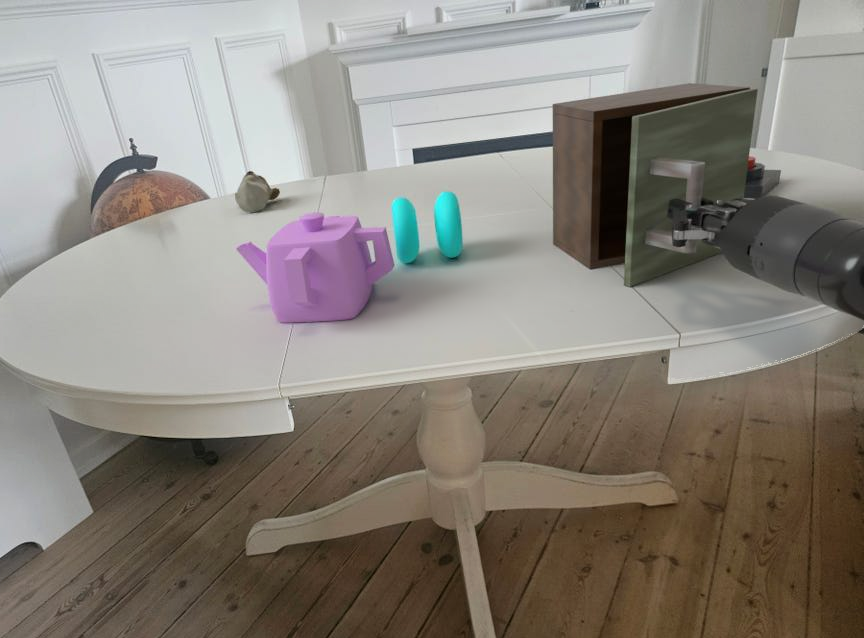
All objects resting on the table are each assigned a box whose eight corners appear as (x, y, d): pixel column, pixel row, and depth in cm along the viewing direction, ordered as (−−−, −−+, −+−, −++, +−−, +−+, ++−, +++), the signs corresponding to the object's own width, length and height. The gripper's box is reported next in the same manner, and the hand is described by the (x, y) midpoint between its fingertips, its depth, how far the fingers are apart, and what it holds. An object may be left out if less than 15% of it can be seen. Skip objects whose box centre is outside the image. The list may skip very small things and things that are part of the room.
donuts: (397, 253, 103) (389, 192, 99) (457, 245, 103) (453, 183, 98) (398, 273, 94) (391, 207, 90) (465, 265, 94) (460, 198, 89)
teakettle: (305, 339, 77) (285, 241, 71) (245, 307, 90) (225, 221, 84) (412, 296, 85) (402, 206, 80) (344, 272, 98) (331, 193, 92)
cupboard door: (782, 256, 81) (810, 88, 72) (672, 300, 73) (688, 118, 64) (730, 245, 87) (750, 88, 78) (623, 285, 79) (631, 116, 70)
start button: (732, 166, 113) (733, 155, 112) (757, 166, 110) (758, 156, 109) (725, 171, 110) (726, 160, 109) (750, 171, 108) (751, 161, 107)
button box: (718, 180, 119) (721, 158, 117) (779, 182, 112) (782, 159, 110) (697, 196, 111) (699, 173, 109) (760, 199, 105) (764, 175, 103)
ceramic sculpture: (220, 177, 138) (233, 170, 152) (229, 217, 142) (240, 206, 155) (268, 171, 138) (277, 164, 152) (276, 211, 142) (283, 200, 155)
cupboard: (730, 245, 87) (750, 87, 78) (589, 270, 86) (593, 111, 77) (677, 223, 99) (689, 83, 90) (552, 244, 97) (552, 103, 88)
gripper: (869, 193, 56) (739, 164, 72) (727, 217, 55) (626, 182, 70) (851, 272, 60) (731, 228, 75) (717, 297, 58) (622, 247, 74)
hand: (680, 206), depth 73 cm, fingers closed on cupboard door
